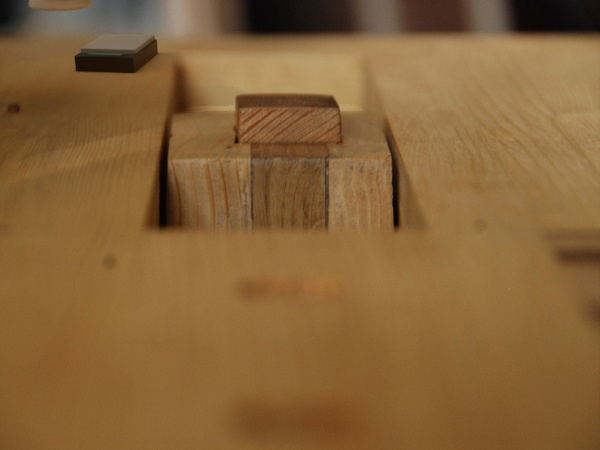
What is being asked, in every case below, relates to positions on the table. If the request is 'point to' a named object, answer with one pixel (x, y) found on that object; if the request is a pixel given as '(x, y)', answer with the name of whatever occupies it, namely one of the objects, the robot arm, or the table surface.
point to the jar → (59, 5)
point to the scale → (116, 53)
